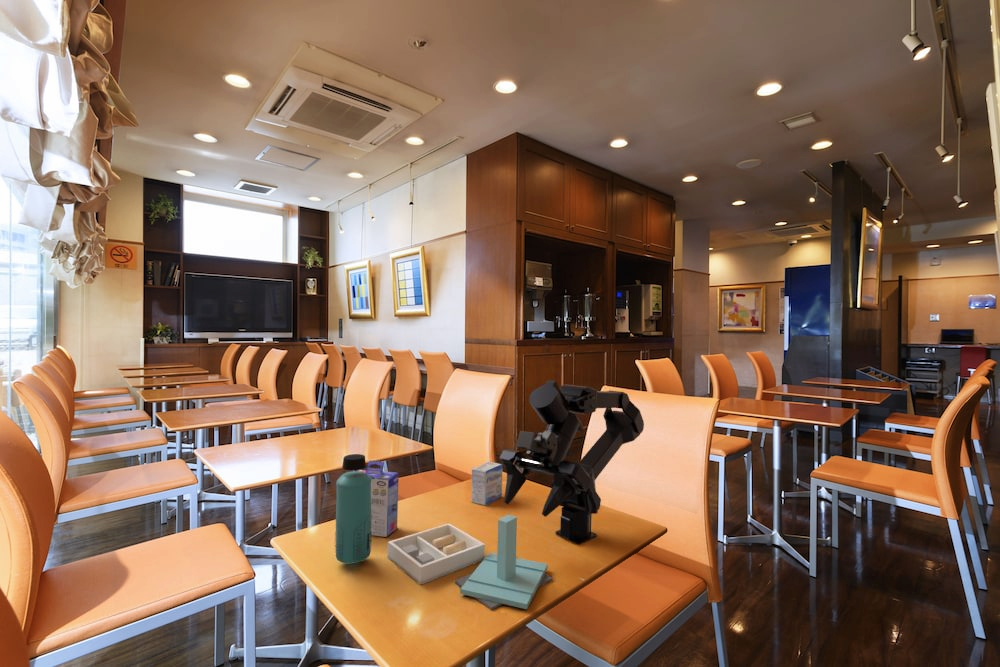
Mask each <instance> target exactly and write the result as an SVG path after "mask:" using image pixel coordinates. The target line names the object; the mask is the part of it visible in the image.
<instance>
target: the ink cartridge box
mask: <svg viewBox="0 0 1000 667" xmlns="http://www.w3.org/2000/svg"><path fill="white" fill-rule="evenodd" d="M384 464H385V461H379V460H378V461H377V460H376V461H375V460H369V461H368V463H367V465H366V469H360V470H357V471H362V472H365V473H366V474H368V475H369V476H370V477H371V479H372V481H371V500H372V501H371V514H372V517H371V519H372V520H371V521H372V522H371V524H372V525H371V526H372V527H371V531H372V532H371V533H372V536H376V537H383V538H384V537H385V538H386V537H388V536H389V535H390V534H392V533H393V532H394V531H395V530H397V529H398V513H399V512H398V511H399V510H398V509H399V505H398V504H399V472H393V471H383V469H384V466H385V465H384ZM373 465H377V466H379V468H377V467H371V466H373Z"/></svg>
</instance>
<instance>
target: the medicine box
mask: <svg viewBox="0 0 1000 667" xmlns="http://www.w3.org/2000/svg"><path fill="white" fill-rule="evenodd" d="M502 496H503V465H502V463H498V462H492V461H491V462H490V461H489V462H485V463H484V464H482V465H479V466H477V467H473V468H472V469H471V499H470V500H471V501H470V502H471V503H474V504H476V505H477V504H478V505H480V506H485V507H486V506H487V505H489V504H491V503H493V502H495V501H496V499H497V500H499V499H501V498H502Z"/></svg>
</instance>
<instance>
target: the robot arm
mask: <svg viewBox="0 0 1000 667" xmlns="http://www.w3.org/2000/svg"><path fill="white" fill-rule="evenodd" d="M529 403H530V405H531V407H532V409H534V411H535V413H537V415H538V417H539V418H540V419H541V421H542V422H543V423H544V424H546V425H547V426H546V429H545V430H543V432H538V433H536V432H531V431H524V430H519V434H518V438H517V441H516V445H515V448H516V449H522V450H526V452H525V453H526V455H527V457H530V458H531V459H529V458H527V457H526V456H525V455H524V454H523V453H522V452H521V451H520V450H516V449H509V448H506V449H503V450H502V453H501V454H500V456H499V458H498V460H499V461H500V462H501V464H502V467H504V468H505V471H506V482H505V483H506V484H505V492H504V498H503V503H504V504H505V505H510V504H511V502H512V501H513V500H514V498H515V497H516V495H517V494H518V492H519V491H520V490H521V488H522V487H523V485H524V484H525V483H526V482H527V477H526V476H527V475H529V474H530V471H532V472H536V473H540V474H545V475H550V476H553V479H552V482H551V490H550V491H549V494H548V496H547V499H546V500H545V502H544V505H543V508H542V512H541V515H542V516H543V517H547V516H549V515H550V514H551V513H553V511H555V510H556V509H557V508H558V507H559V506H560V507H561V516H560V523H559V524H560V529H557V530H556V531H555V535H557V536H559V537H560V538H562V539H565V540H567V541H569V542H571V543H573V544H575V545H581V544H582V543H586V542H588V541H590V540H592V539H594V538H597V536H598V534H597V533H596V532H593V531H592V517H593V516H592V515H595V514H598V513H599V512H598V511H599V510H600V507H601V502H602V501H601V500H602V499H601V496H600V495H599V494H598V492H597V489H596V480H597V478H599V475H601V473H602V472H603V470H605V468H606V466H607V465H608V464H609V463H610V461H611V460H612V458H613V457H614V456H615V455H616V454H617V452H618V451H619V449H621V447H622V446H623V445H624V444H627V443H628V444H629V443H631V442H634V441H635V440H637V438H638V437H640V435H641V434H642V433H643V431H644V427H645V422H644V419H643V418H644V417H643V416H642V413H641V410H640V409H639V408H638V407H637V406H636V405H635V404H634V403H633V402H632V401H631V400H630V397H629V395H628V393H626V392H624V391H618V390H612V389H611V390H607V391H605V390H604V391H603V390H597V389H595V388H593V387H591V386H590V387H589V386H583V385H576V384H575V385H574V384H562V385H561V386H560V387H559V384H558V382H557V381H555V380H547V381H546V383H545V384H543V385H540V386H539V387H537V388H535V390H533V391H532V392H531V393H530V396H529ZM614 408H615V409H621V410H613V409H614ZM596 409H604V413H603V418H604V421H605V428H606V430H605V431H604V432H603V433H602V435H601V436H600V437H599V438H598V439H597V440H596V441H595V443H594V444H593V445H592V446H591V447H590V448H589V449H588V451H587V452H586V453H585V454H584V456H582V458H581V459H580V460H579V461H578V462H576V461H570V460H566V459H565V458H566V456H568V457H571V455H572V453H573V452H572V450H571V449H570V448H571V445H572V442H573V440H574V438H575V435H576V433H577V432H579V433H582V432H583V431H584V428H583V425H582V422H581V418H578V416H577V415H576V414H579V415H580V414H581V415H589V414H592V413H595V412H596V411H597V410H596Z"/></svg>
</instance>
